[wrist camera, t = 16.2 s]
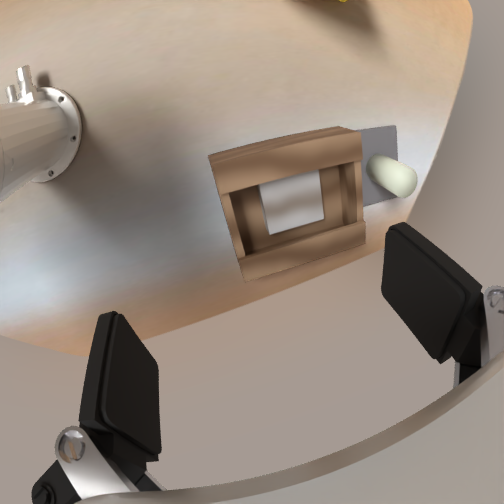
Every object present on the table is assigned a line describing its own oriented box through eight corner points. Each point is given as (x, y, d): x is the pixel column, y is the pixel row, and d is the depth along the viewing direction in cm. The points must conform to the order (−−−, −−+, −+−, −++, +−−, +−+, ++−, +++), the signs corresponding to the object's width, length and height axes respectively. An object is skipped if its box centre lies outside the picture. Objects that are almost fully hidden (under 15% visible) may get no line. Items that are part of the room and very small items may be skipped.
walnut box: (207, 155, 33) (211, 165, 29) (338, 126, 35) (360, 132, 30) (237, 259, 42) (245, 282, 37) (347, 226, 43) (365, 243, 39)
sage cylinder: (366, 153, 37) (395, 167, 31) (389, 153, 38) (419, 166, 32) (364, 181, 39) (391, 199, 34) (387, 180, 40) (415, 196, 34)
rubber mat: (351, 131, 35) (353, 131, 35) (394, 125, 36) (396, 126, 35) (357, 206, 42) (358, 207, 41) (395, 195, 42) (397, 196, 42)
